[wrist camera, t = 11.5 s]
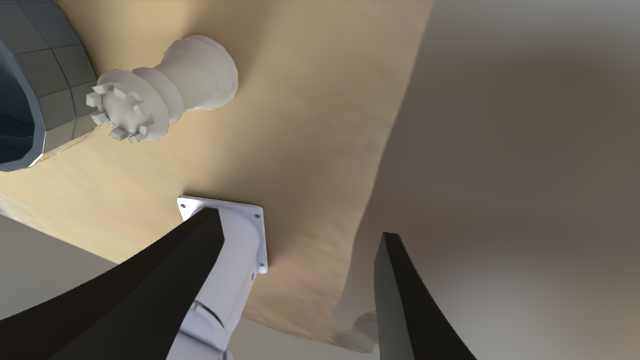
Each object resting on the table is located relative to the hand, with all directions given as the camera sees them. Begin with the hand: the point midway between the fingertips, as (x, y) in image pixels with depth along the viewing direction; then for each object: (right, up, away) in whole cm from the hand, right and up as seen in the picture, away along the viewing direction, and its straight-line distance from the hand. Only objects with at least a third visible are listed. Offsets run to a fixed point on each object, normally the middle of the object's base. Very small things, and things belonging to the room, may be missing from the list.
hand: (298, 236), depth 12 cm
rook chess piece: (-6, +10, +6) cm, 13 cm away
